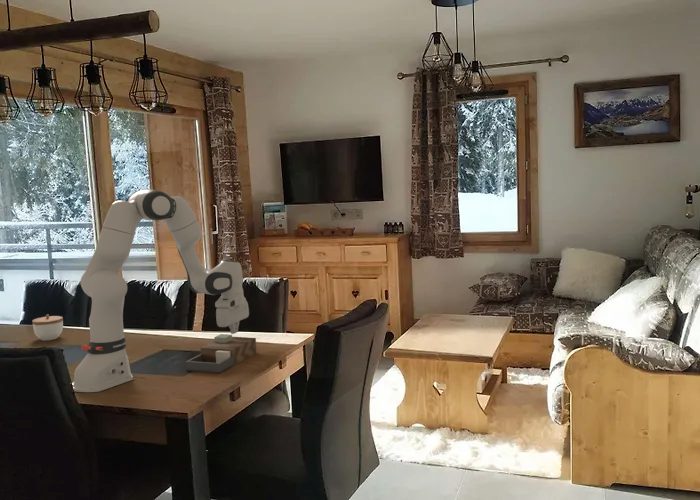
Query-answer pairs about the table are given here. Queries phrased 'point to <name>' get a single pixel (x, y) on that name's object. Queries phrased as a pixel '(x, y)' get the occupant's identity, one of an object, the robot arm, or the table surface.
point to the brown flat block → (230, 349)
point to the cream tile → (222, 355)
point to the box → (208, 365)
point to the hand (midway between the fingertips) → (234, 333)
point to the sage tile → (223, 338)
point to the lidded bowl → (48, 327)
